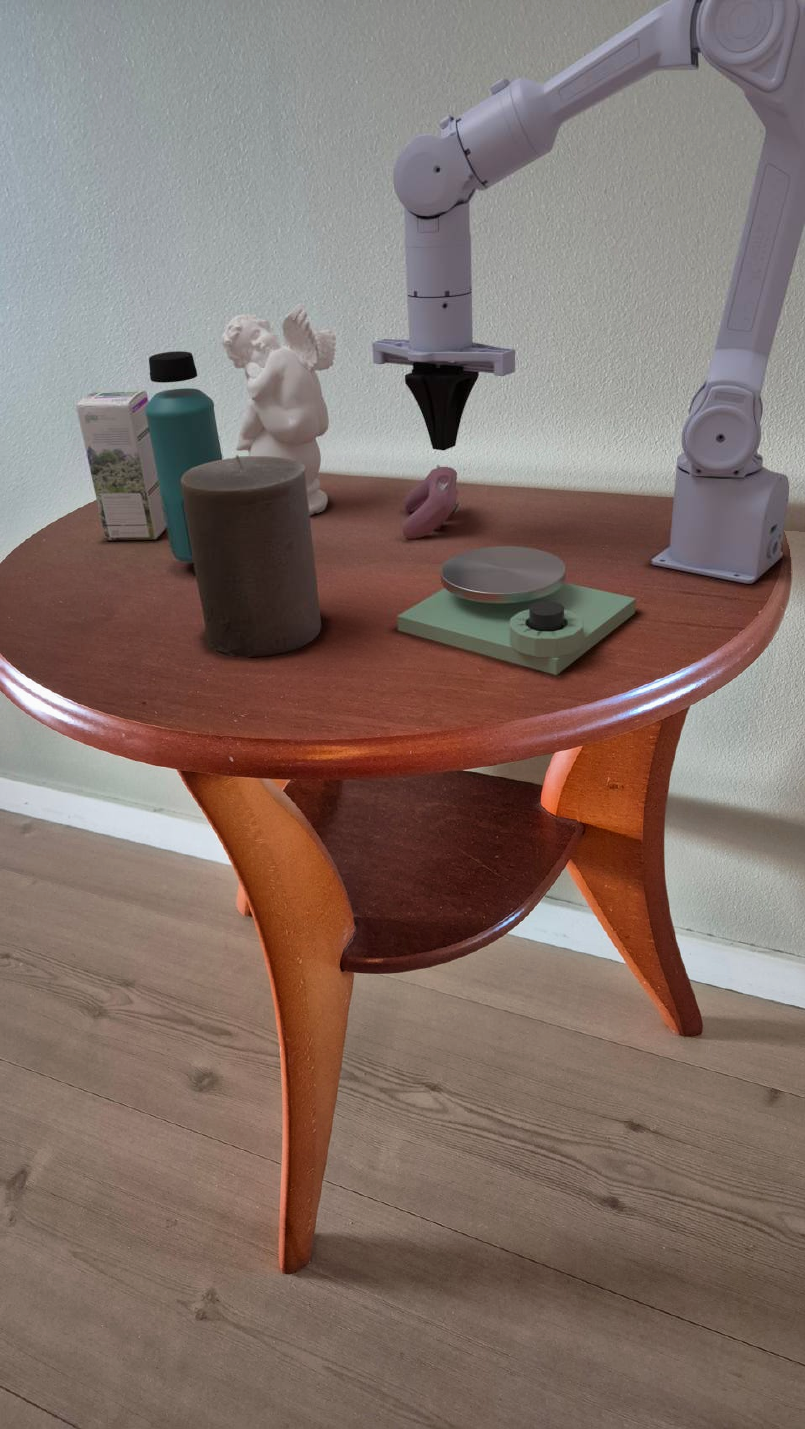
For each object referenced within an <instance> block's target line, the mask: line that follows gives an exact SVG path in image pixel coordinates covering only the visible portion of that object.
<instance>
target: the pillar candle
mask: <svg viewBox="0 0 805 1429" xmlns="http://www.w3.org/2000/svg"><path fill="white" fill-rule="evenodd" d="M305 468H306V467H305V465H303V464H300V463H298V462H297V461H296V460H291V459H288V458H282V457H270V456H249V455H240V456H239V454H235V457H231V458H229V457H228V458H222V460H218V461H213V462H209V463H206V464H202V465H199V466H197V467H193V468H191V469H190V470H188V471H187V472H185V473H184V474H183V476H182V477H181V487H182V493H183V500H184V507H185V514H186V519H187V525H188V532H189V537H190V543H191V549H192V554H193V562H194V563H193V567H194V568H193V569H194V573H195V574H194V575H195V578H196V584H197V588H198V594H199V599H200V601H199V602H200V603H201V605H200V606H201V611H202V615H203V616H202V617H203V621H204V626H205V627H204V628H205V631H206V640H207V643H208V645H209V647H211V648H212V649H213V650H214V651H217V652H220V653H222V654H224V655H228V656H230V657H241V658H259V657H260V658H261V657H270V656H274V655H275V656H276V655H280V654H281V655H282V654H285V653H289V652H292V651H295V650H297V649H300V648H302V647H304V646H306V645H307V644H308V643H311V642H312V641H313V640H315V639H316V638H317V637H318V635H319V634H320V633H321V630H322V619H321V612H320V610H321V609H320V601H319V600H320V599H319V590H318V579H317V570H316V564H315V554H314V545H313V535H312V534H313V533H312V527H311V515H309V506H308V499H307V489H306V480H305V471H306V469H305Z"/></svg>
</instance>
